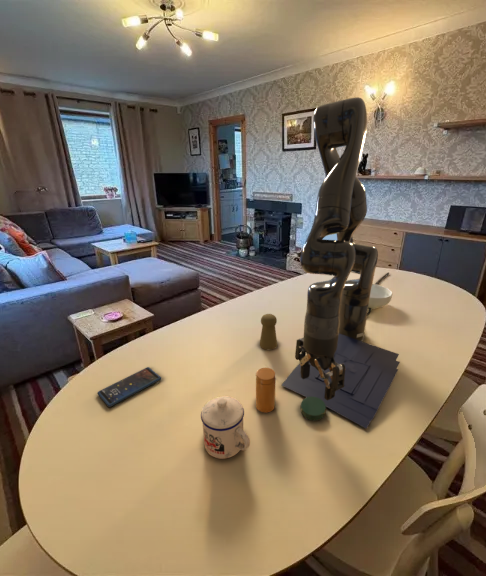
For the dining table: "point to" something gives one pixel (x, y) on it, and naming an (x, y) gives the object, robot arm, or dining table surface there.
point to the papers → (352, 380)
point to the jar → (265, 389)
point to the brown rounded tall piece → (268, 332)
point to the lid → (313, 408)
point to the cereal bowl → (379, 296)
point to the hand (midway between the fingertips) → (316, 387)
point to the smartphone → (128, 386)
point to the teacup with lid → (224, 427)
